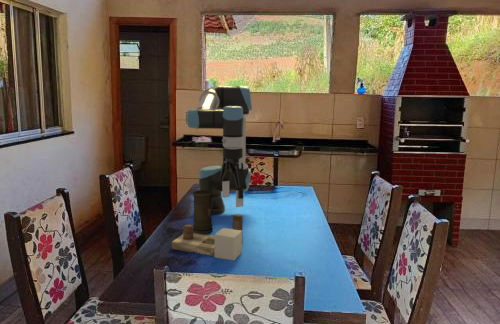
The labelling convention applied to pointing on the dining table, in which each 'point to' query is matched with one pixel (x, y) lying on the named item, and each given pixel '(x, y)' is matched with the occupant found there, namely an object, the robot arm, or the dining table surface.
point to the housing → (228, 244)
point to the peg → (238, 222)
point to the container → (202, 212)
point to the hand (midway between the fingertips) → (232, 201)
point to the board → (194, 242)
